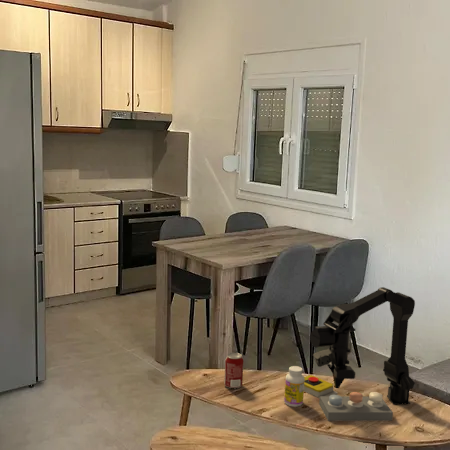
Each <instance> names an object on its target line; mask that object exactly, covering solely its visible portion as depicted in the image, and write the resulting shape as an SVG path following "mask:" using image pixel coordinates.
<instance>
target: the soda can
mask: <svg viewBox="0 0 450 450" xmlns="http://www.w3.org/2000/svg"><path fill="white" fill-rule="evenodd" d="M243 358H244V357H243V355H242V354H241V353H239V352H230V353H227V355H226V358H225V360H224V380H223V382H224V383H223V384H224V386H225V387H226V388H228V387H229V389H231V388H234V389H233V390H235V389H236V388H237V389H239V388H241V387H242V386H243V382H244V381H243V379H244V377H243V376H244V375H243V374H244V359H243ZM237 389H236V390H237Z"/></svg>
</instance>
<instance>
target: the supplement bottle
mask: <svg viewBox="0 0 450 450" xmlns="http://www.w3.org/2000/svg"><path fill="white" fill-rule="evenodd" d="M304 377H305V376H304V375H303V368H302V367H301V366H298V365H292V366H289V368H288V373H287V374H286V376H285V382H284V383H285V384H284V395H283V396H284V397H283V402H284V403H285V405H287V406H289V407H295V408H298V407H300V406H302V405H303V403H304V393H305V392H304V381H305V379H304Z"/></svg>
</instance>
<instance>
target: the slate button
mask: <svg viewBox="0 0 450 450" xmlns="http://www.w3.org/2000/svg"><path fill="white" fill-rule="evenodd" d="M342 399H343V398H342V397H341V395H339V394H336V395H330V396H329V403H330V404H332V405H341V404H342Z"/></svg>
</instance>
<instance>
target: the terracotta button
mask: <svg viewBox="0 0 450 450" xmlns="http://www.w3.org/2000/svg"><path fill="white" fill-rule="evenodd" d="M348 396H349V400H350V401H352V402H356V403H360V402H362V399H363V396H364V395H363V394H362V393H360V392H358V391H352V392H350V393H349V395H348Z"/></svg>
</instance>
